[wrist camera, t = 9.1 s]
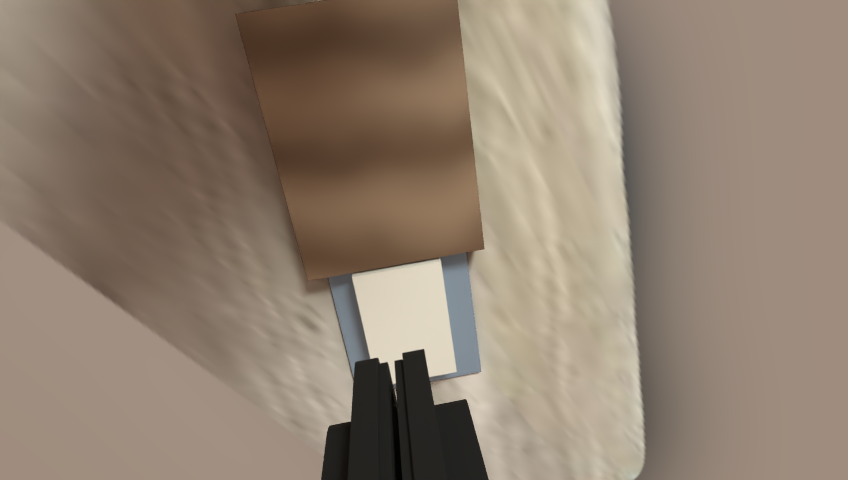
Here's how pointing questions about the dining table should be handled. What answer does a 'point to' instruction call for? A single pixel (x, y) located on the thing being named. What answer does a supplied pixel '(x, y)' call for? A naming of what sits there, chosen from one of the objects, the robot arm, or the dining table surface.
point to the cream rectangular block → (406, 314)
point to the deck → (368, 129)
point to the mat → (457, 310)
